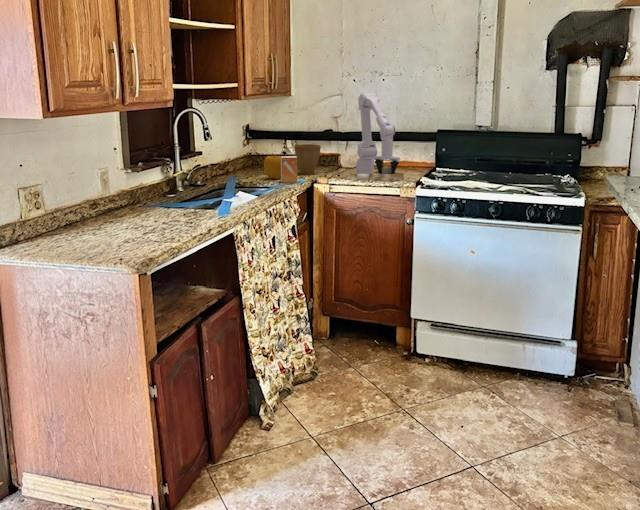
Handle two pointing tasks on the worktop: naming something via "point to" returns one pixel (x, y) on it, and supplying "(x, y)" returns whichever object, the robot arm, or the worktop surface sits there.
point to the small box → (289, 169)
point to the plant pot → (307, 157)
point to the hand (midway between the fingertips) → (386, 174)
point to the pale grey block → (362, 176)
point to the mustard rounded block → (273, 166)
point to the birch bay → (386, 176)
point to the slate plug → (386, 170)
